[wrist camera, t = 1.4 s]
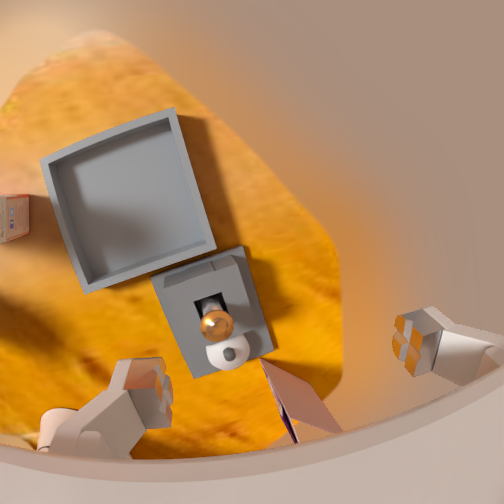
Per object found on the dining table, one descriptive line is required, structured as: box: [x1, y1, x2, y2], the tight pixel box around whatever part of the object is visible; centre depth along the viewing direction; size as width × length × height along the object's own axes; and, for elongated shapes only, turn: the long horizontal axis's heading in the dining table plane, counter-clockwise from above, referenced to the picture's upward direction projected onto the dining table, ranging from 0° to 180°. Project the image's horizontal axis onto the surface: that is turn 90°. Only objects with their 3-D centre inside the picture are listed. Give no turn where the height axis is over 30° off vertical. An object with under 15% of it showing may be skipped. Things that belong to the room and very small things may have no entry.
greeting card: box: [259, 357, 343, 444], centre depth 43 cm, size 11×7×15 cm, turn 17°
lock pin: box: [200, 294, 234, 342], centre depth 38 cm, size 4×4×10 cm
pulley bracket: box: [150, 245, 274, 379], centre depth 42 cm, size 17×13×6 cm
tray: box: [40, 107, 217, 294], centre depth 37 cm, size 18×18×4 cm
